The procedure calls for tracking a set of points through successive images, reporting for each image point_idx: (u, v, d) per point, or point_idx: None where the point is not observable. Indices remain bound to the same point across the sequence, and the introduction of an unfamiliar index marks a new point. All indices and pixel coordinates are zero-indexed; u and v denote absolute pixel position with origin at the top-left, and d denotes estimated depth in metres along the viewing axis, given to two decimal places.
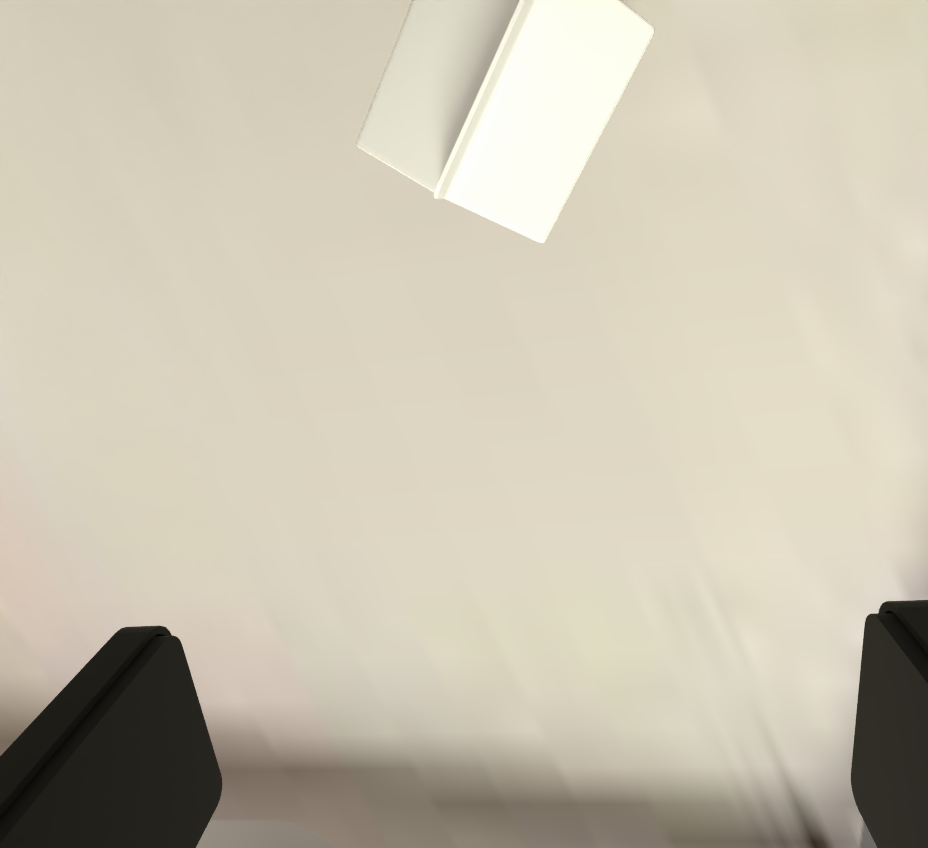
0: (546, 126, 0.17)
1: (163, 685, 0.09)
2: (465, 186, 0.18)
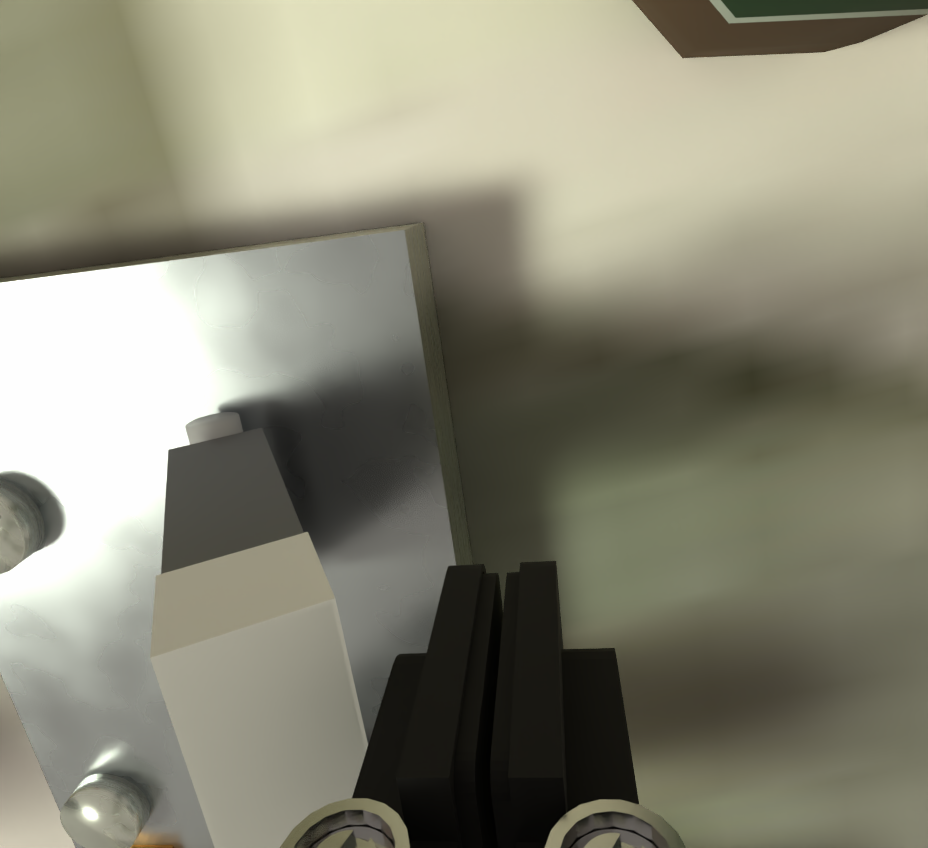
0: None
1: (498, 618, 0.10)
2: None
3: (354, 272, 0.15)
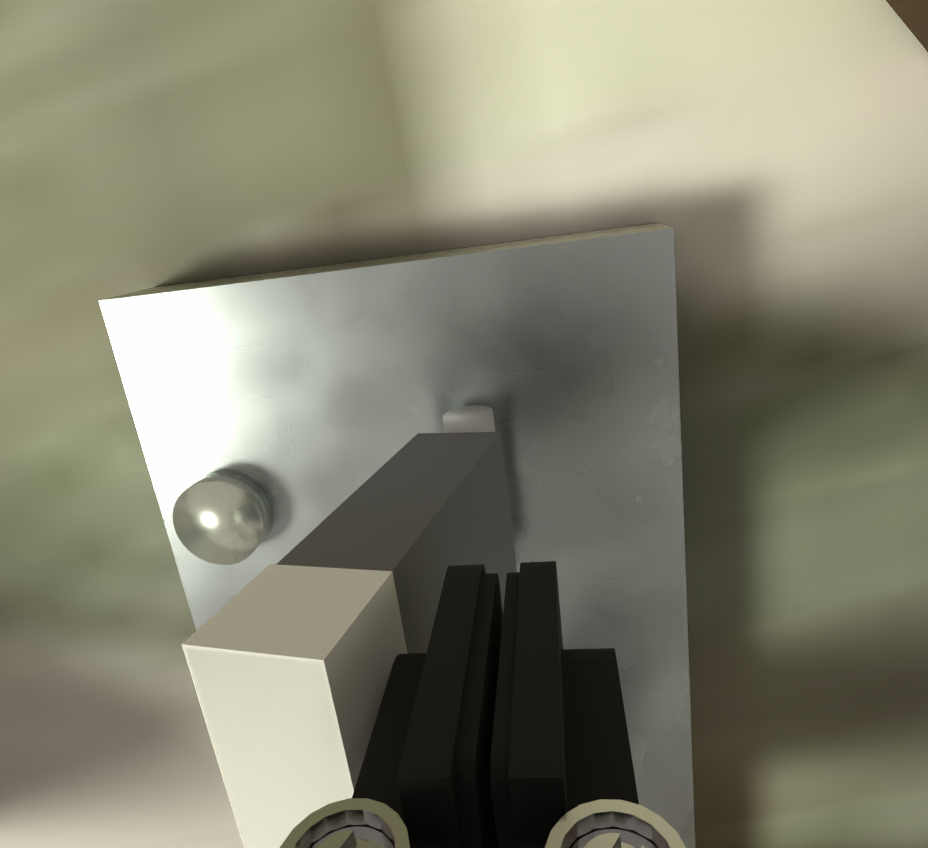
0: None
1: (498, 618, 0.10)
2: None
3: (618, 269, 0.15)
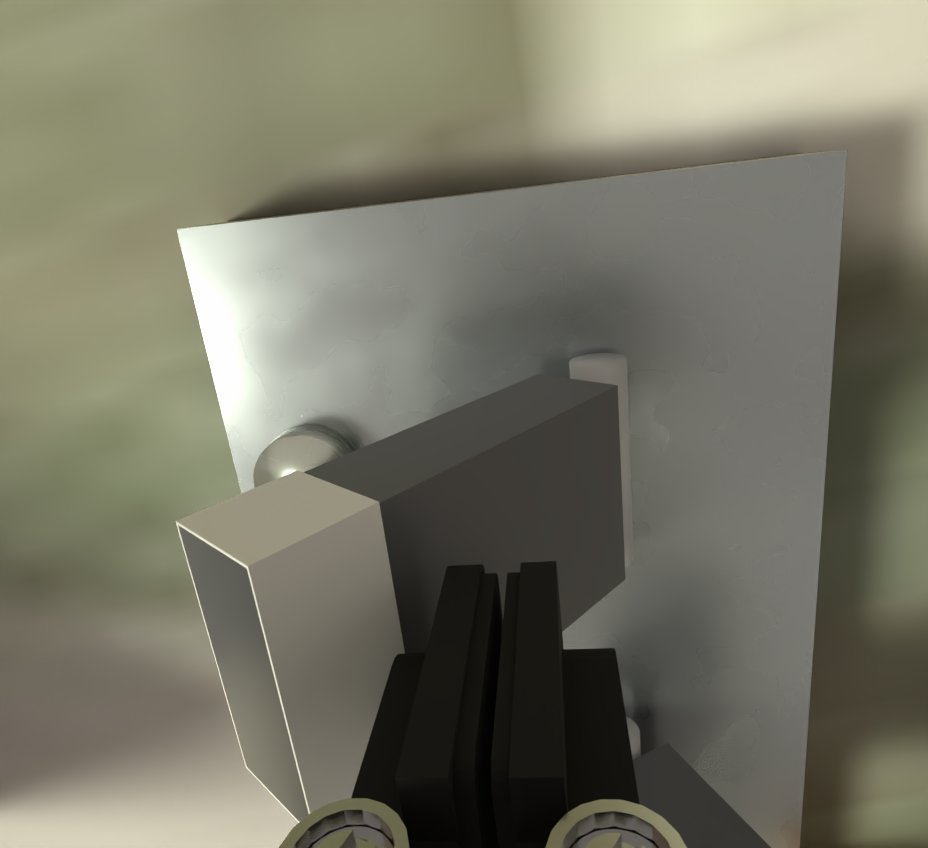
0: None
1: (497, 618, 0.10)
2: None
3: (778, 197, 0.14)
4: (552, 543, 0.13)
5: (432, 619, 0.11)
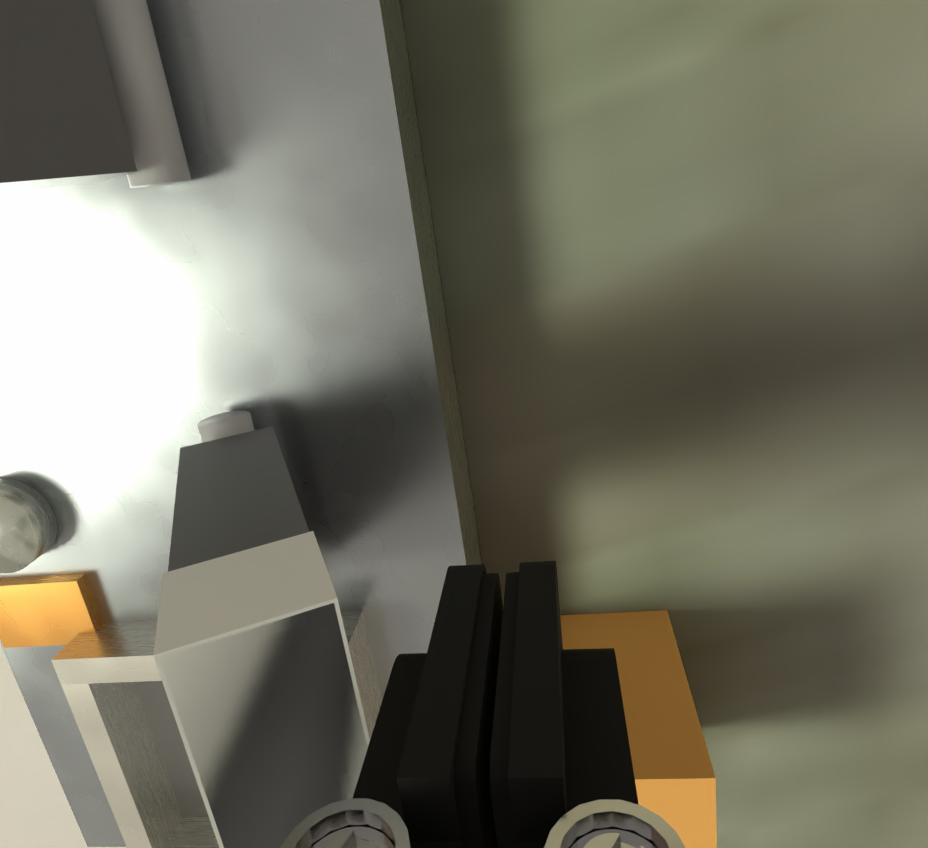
0: None
1: (498, 618, 0.10)
2: None
3: None
4: None
5: None
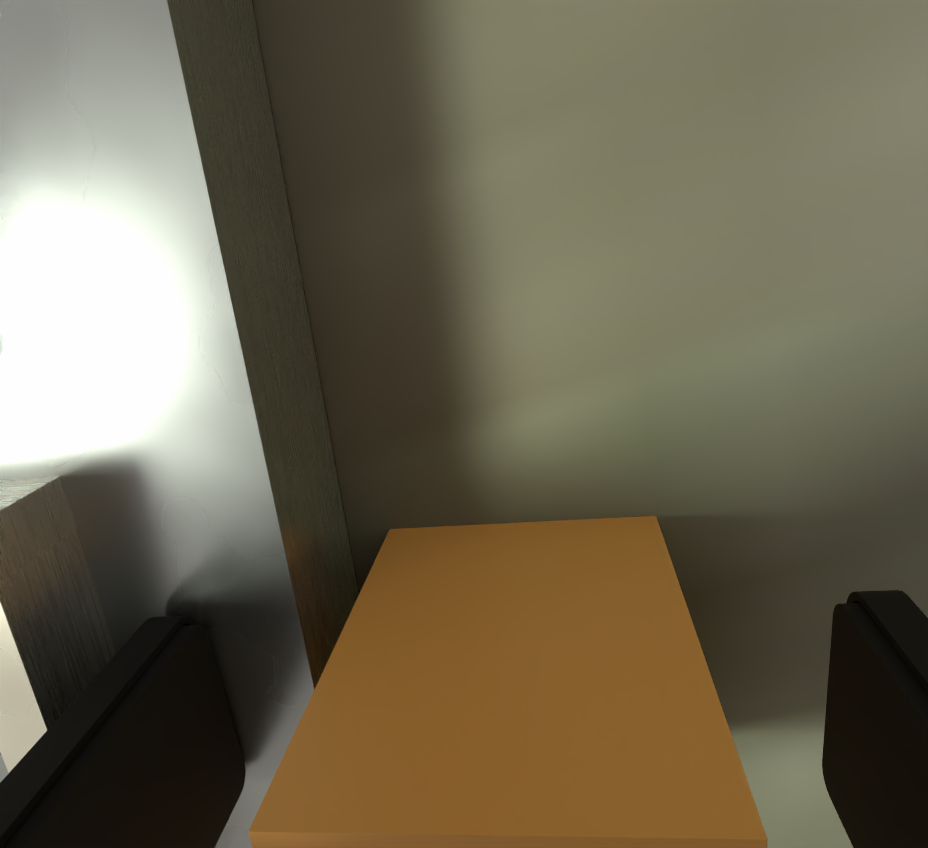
0: None
1: (191, 673, 0.09)
2: None
3: None
4: None
5: None
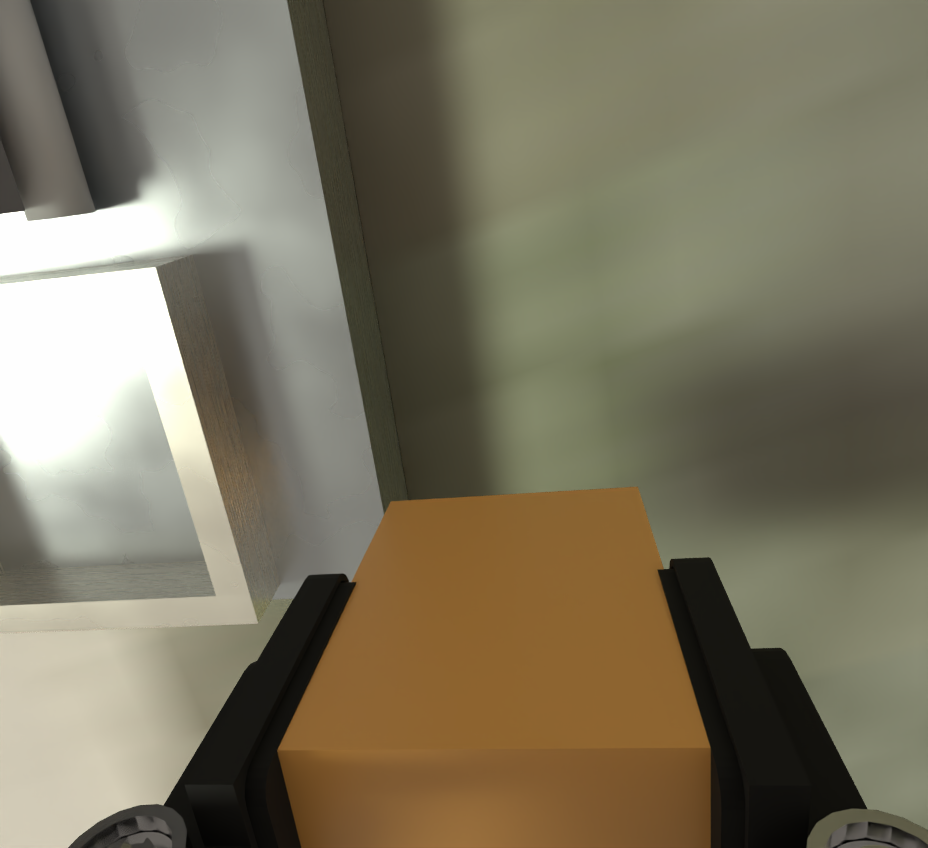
0: None
1: None
2: None
3: None
4: None
5: None
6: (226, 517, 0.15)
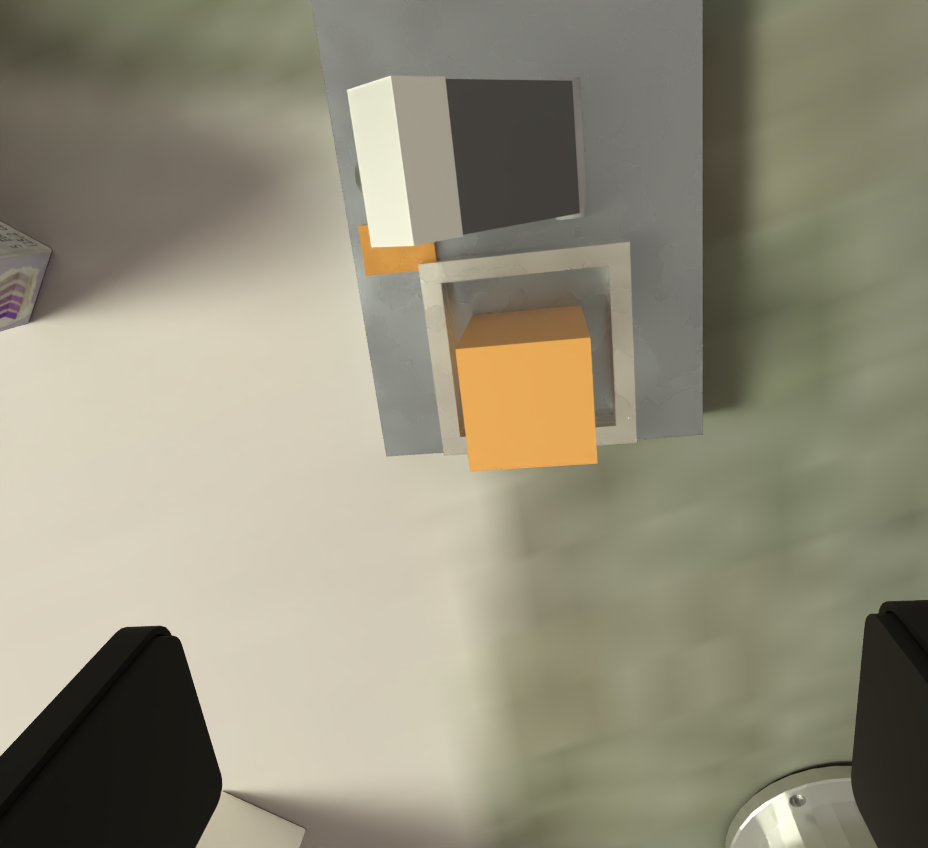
0: None
1: (163, 685, 0.09)
2: None
3: None
4: None
5: None
6: (633, 377, 0.27)
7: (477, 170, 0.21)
